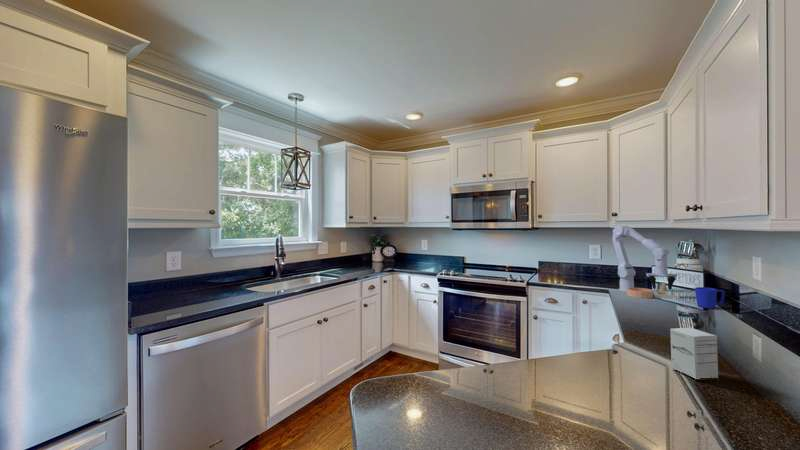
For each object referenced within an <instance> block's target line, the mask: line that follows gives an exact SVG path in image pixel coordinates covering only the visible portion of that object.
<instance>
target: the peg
mask: <svg viewBox="0 0 800 450" xmlns="http://www.w3.org/2000/svg"><path fill="white" fill-rule="evenodd" d="M657 291H658V294H661V295H667V293H666V291H667V282H660V281H659V282H657Z"/></svg>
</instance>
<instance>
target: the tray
mask: <svg viewBox="0 0 800 450" xmlns="http://www.w3.org/2000/svg"><path fill="white" fill-rule="evenodd" d="M666 293H667V295H661V294H658V290H653V298H657V299H660V298H661V299H678V300H679V299H680V298H681V297H680V295H679V294H676V293H674V292H673V291H667V290H666Z"/></svg>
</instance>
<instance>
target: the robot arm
mask: <svg viewBox="0 0 800 450" xmlns="http://www.w3.org/2000/svg"><path fill="white" fill-rule="evenodd" d="M628 236H629V237H632V238H633V239H635V240H637V241H638V242H640V243H641V244H642V246H643V247H644V248H645V249H647V250H648V251H650V252H651V253H652V255H653V256H654V272H651V273H650V272H648V273H647V272H646V277H647V278H648V279H649V281H650V283H651V285H652V289H653V290H655V289H657V285H656V281H657V278H666V279H667V285H668V286H667V287H668V290H672V288H673V284H674V283H675V281H676V279H678V274H677V273H668V256H669V253H670V252H669V249H668V248H667V247H666V246H662V244H658V243H657V242H656V241H655V240H654V239H651V238H645V237H644V236H643V235H641V234H640V233H639V232H637V231H636V230H635V229H634V228H632V227H630V226H629V225H623V226H622V225H616V226H615V227H614V228H613V229H612V238H611V240H612V244H613V247H614V250H615V254H616V257H617V261H618V263H619V264H618V266H617V275H618V277H619V278H620V279H619V288H618V290H619V291H621V292H626V293H627V288H635V281H634V279H635V276H636V275H637V274H636V273H637V272H636V270H635V269H634V267H633V265H632V264H631V263H630V262H629V258H628V255H627V251H626V248H625V244H624V240H625V238H626V237H628Z"/></svg>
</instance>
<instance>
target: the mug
mask: <svg viewBox="0 0 800 450" xmlns="http://www.w3.org/2000/svg"><path fill="white" fill-rule="evenodd" d="M694 292H695V293H694V294H695V297H696V304H697V307H699V308H701V309H708V310H710V309H711V310H713V309H715V308H716V307H717V306H720V305H722V304H723V303H724V301H725V290H722V289H717V288H713V287H703V286H702V287H701V286H695V287H694ZM719 292H721V297H720V301H719V302H718V303H717V294H718V293H719Z"/></svg>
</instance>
